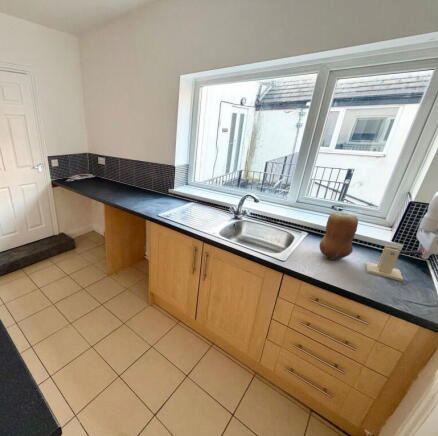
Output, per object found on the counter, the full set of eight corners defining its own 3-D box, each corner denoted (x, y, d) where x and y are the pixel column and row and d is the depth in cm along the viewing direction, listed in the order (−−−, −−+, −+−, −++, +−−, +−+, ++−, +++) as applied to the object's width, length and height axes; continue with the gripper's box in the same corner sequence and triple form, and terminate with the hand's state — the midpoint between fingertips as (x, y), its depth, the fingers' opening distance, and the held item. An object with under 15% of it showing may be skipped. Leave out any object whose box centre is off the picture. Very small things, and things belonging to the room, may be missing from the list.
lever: (424, 253, 107) (424, 248, 106) (427, 258, 103) (427, 252, 103) (386, 251, 114) (386, 246, 114) (387, 255, 111) (387, 250, 110)
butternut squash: (323, 248, 136) (337, 207, 126) (352, 259, 125) (369, 215, 116) (311, 256, 129) (324, 212, 119) (340, 268, 119) (357, 221, 109)
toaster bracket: (398, 271, 116) (408, 247, 111) (402, 281, 108) (413, 256, 104) (365, 263, 122) (374, 240, 118) (367, 272, 115) (376, 248, 110)
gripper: (456, 236, 91) (440, 267, 96) (440, 221, 107) (426, 249, 111) (432, 231, 95) (417, 262, 100) (419, 217, 110) (407, 245, 115)
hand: (422, 255), depth 106 cm, fingers closed on lever, 5 cm apart
